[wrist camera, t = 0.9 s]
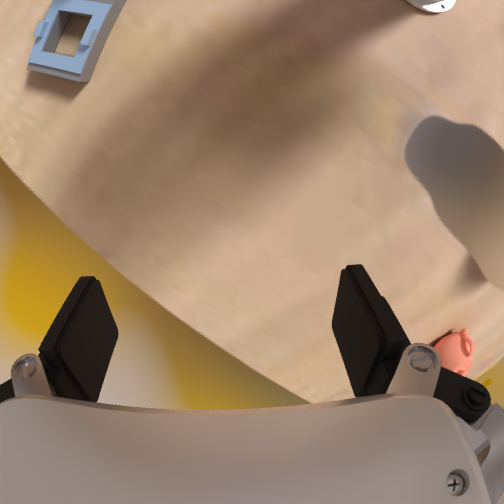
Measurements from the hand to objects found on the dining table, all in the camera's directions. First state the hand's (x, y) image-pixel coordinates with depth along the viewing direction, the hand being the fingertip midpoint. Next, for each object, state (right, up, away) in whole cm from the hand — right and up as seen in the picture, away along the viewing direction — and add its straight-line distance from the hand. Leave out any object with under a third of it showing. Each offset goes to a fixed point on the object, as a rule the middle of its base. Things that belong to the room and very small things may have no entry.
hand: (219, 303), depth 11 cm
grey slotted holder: (-18, +34, +11) cm, 40 cm away
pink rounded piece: (+47, -20, +47) cm, 70 cm away
